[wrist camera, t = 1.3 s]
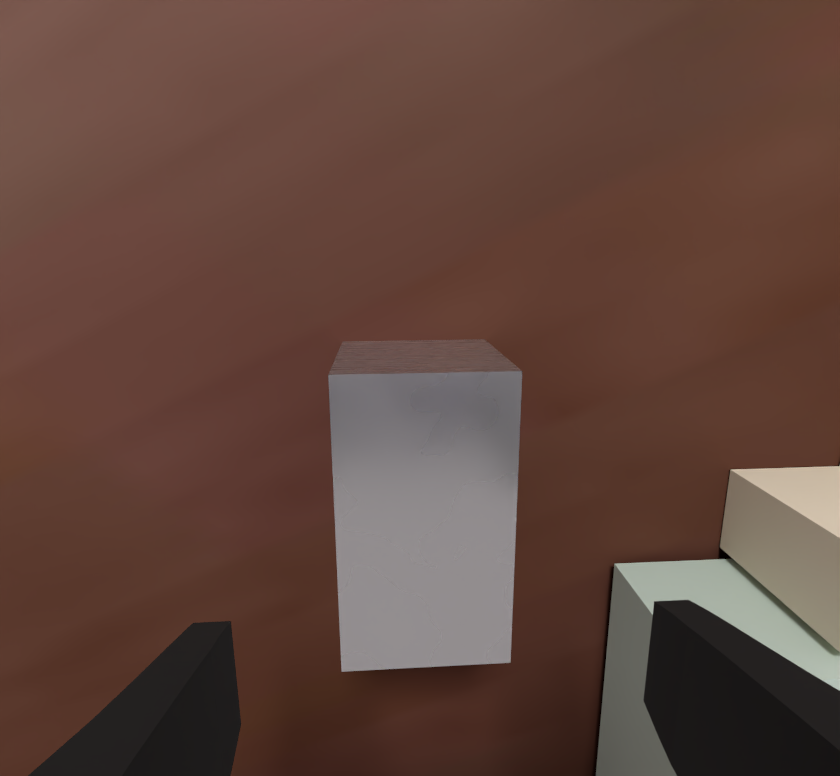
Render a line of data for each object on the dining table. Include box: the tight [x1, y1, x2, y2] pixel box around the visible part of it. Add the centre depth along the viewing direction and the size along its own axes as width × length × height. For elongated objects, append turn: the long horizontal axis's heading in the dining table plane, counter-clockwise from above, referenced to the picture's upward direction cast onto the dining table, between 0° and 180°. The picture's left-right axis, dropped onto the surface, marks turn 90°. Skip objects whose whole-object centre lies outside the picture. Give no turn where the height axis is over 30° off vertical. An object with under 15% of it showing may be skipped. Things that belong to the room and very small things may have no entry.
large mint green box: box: [596, 559, 840, 776], centre depth 18 cm, size 8×12×6 cm
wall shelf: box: [720, 465, 840, 652], centre depth 18 cm, size 5×28×6 cm, turn 0°
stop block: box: [328, 340, 522, 672], centre depth 16 cm, size 4×8×5 cm, turn 0°
